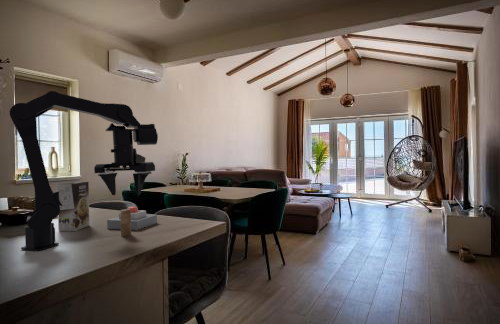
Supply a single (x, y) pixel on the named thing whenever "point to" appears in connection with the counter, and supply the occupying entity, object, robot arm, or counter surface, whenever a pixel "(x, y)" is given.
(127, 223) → the tapered wooden peg
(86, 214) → the coffee box
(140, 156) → the robot arm
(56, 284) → the counter surface
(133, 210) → the plunger
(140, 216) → the button box
